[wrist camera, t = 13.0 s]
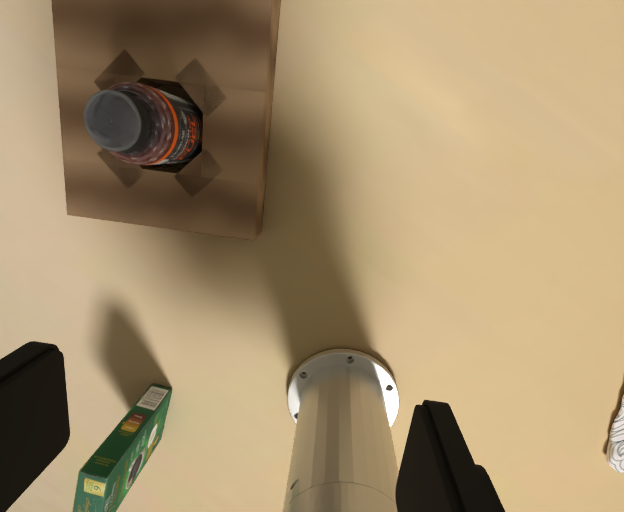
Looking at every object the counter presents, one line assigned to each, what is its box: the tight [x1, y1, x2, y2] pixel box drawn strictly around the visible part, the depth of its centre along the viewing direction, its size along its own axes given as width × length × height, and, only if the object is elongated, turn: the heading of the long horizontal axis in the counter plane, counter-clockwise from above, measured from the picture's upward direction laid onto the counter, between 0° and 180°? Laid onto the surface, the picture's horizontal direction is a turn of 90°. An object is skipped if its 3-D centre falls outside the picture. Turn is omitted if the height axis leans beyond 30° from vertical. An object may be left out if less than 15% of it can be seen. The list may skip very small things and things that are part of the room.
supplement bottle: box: [84, 82, 203, 165], centre depth 30 cm, size 6×6×11 cm
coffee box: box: [73, 384, 172, 512], centre depth 38 cm, size 8×3×13 cm, turn 163°
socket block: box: [52, 0, 281, 240], centre depth 33 cm, size 21×18×4 cm
